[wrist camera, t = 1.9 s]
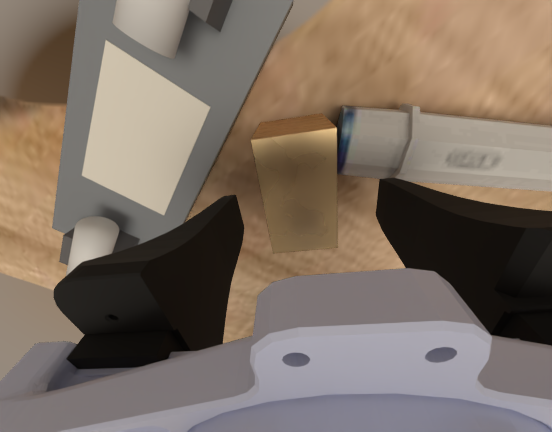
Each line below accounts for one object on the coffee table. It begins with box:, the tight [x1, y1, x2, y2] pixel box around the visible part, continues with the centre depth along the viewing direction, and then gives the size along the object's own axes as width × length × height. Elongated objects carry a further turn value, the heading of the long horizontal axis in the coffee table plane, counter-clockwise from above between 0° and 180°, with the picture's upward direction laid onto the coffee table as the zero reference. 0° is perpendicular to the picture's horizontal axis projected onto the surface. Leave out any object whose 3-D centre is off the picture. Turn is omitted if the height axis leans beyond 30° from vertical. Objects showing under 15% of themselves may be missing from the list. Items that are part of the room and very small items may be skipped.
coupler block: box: [251, 113, 338, 253], centre depth 14 cm, size 7×4×5 cm, turn 8°
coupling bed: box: [52, 0, 293, 276], centre depth 14 cm, size 22×9×5 cm, turn 148°
